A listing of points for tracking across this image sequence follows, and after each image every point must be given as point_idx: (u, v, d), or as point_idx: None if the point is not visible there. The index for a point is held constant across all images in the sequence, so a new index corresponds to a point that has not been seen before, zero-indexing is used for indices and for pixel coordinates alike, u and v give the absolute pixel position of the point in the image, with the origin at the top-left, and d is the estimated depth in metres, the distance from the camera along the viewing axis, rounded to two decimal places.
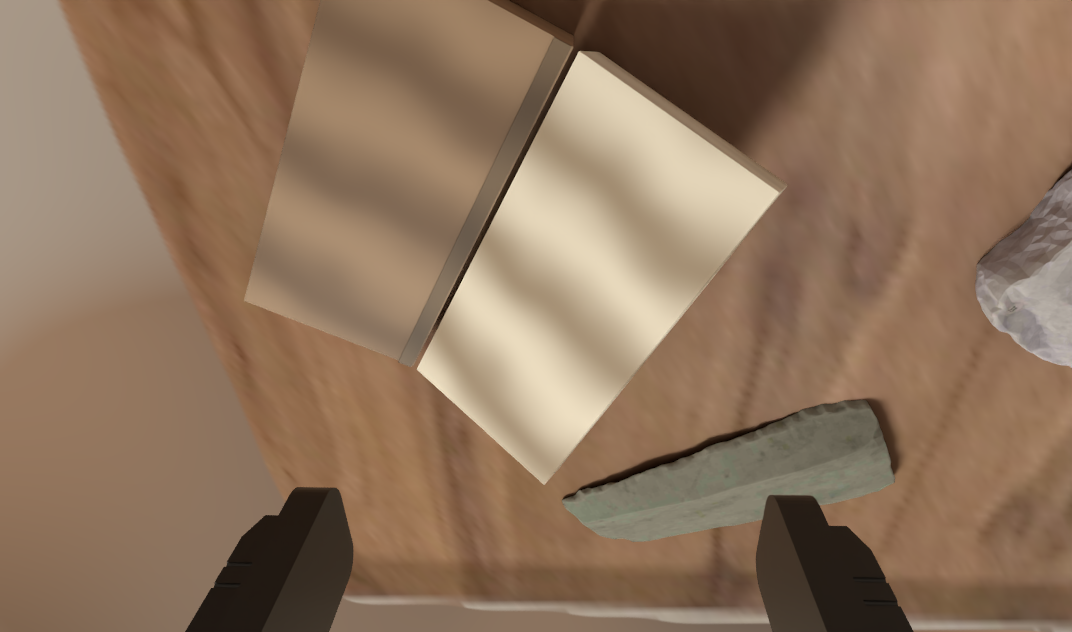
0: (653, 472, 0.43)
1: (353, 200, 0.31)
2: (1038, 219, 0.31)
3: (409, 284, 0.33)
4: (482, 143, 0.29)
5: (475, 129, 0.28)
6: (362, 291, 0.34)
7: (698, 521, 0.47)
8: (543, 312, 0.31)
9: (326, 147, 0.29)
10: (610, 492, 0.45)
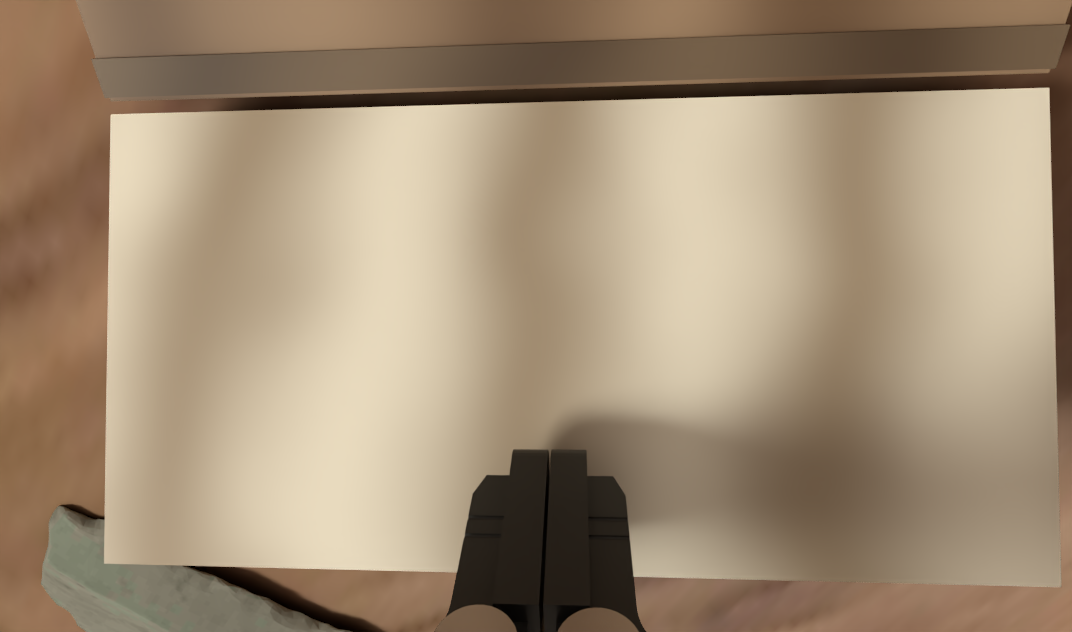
0: (246, 599, 0.24)
1: None
2: None
3: None
4: None
5: None
6: None
7: None
8: (502, 319, 0.13)
9: None
10: (152, 568, 0.24)
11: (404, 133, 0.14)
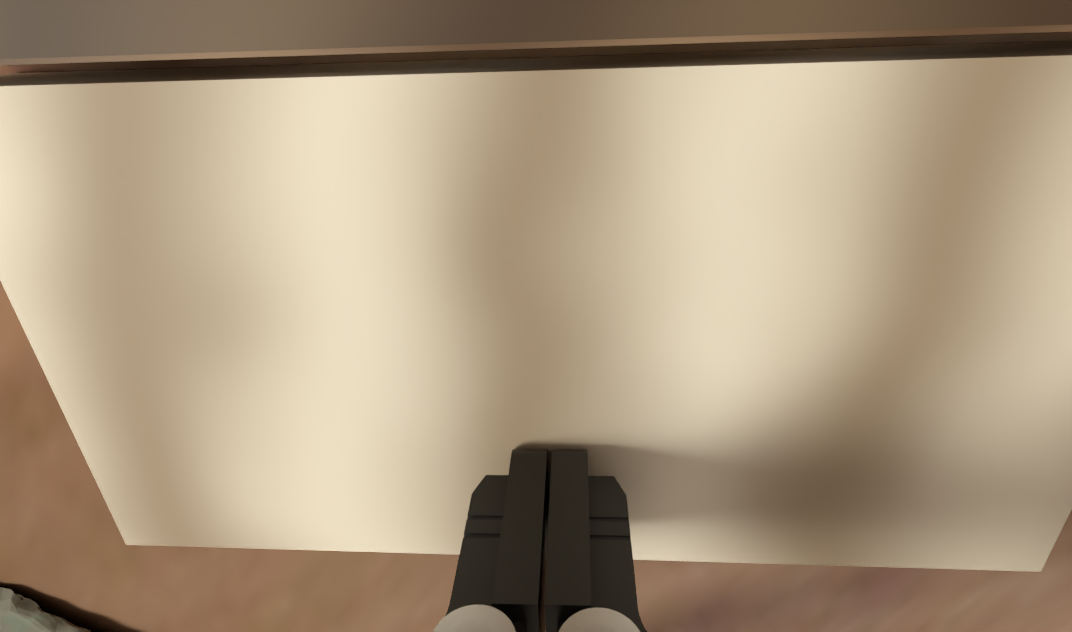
0: None
1: None
2: None
3: None
4: None
5: None
6: None
7: None
8: (490, 347, 0.11)
9: None
10: None
11: (333, 118, 0.10)
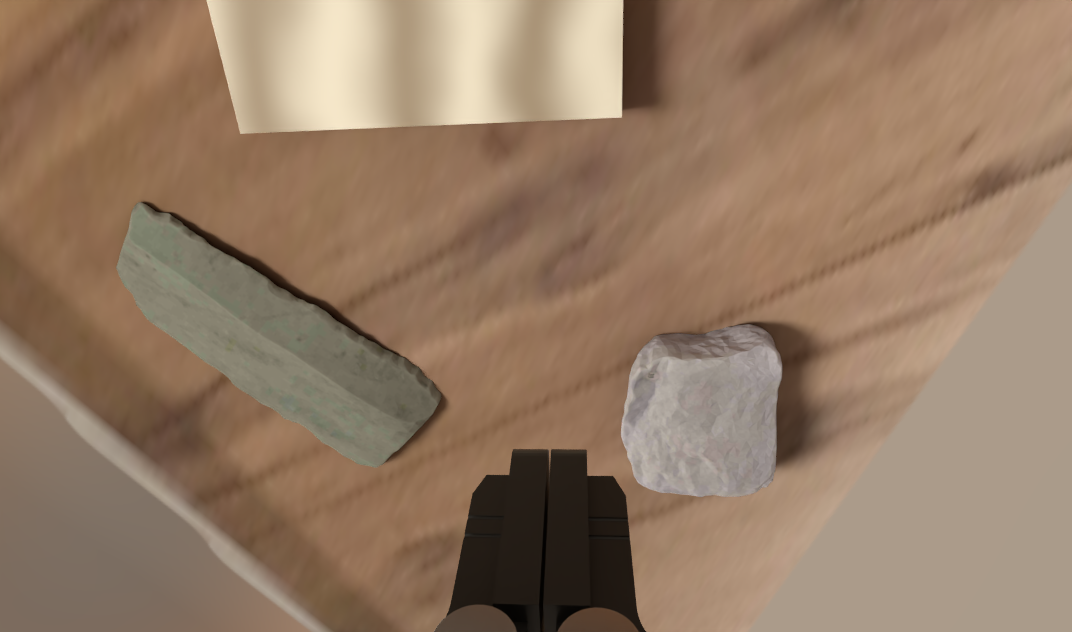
0: (252, 274, 0.39)
1: None
2: (710, 337, 0.39)
3: None
4: None
5: None
6: None
7: (217, 349, 0.42)
8: (389, 12, 0.30)
9: None
10: (195, 246, 0.38)
11: None
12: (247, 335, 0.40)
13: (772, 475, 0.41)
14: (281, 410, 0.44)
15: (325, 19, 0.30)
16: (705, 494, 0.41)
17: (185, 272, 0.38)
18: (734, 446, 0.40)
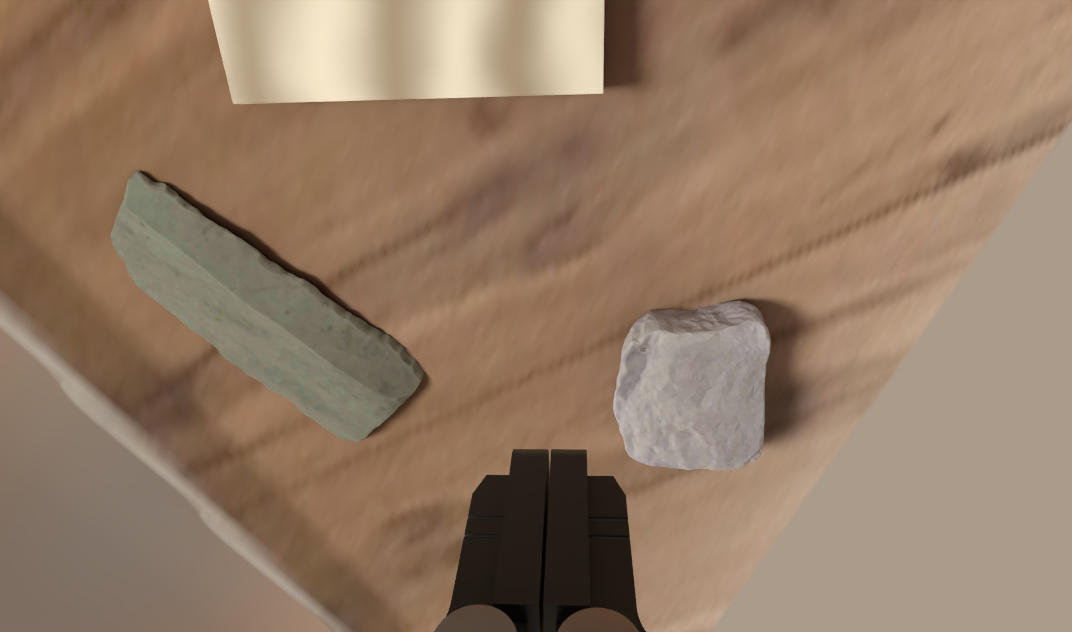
0: (244, 247, 0.40)
1: None
2: (701, 312, 0.40)
3: None
4: None
5: None
6: None
7: (206, 319, 0.43)
8: None
9: None
10: (189, 216, 0.39)
11: None
12: (236, 306, 0.41)
13: (760, 449, 0.42)
14: (267, 381, 0.45)
15: None
16: (694, 467, 0.42)
17: (178, 241, 0.39)
18: (723, 419, 0.41)
